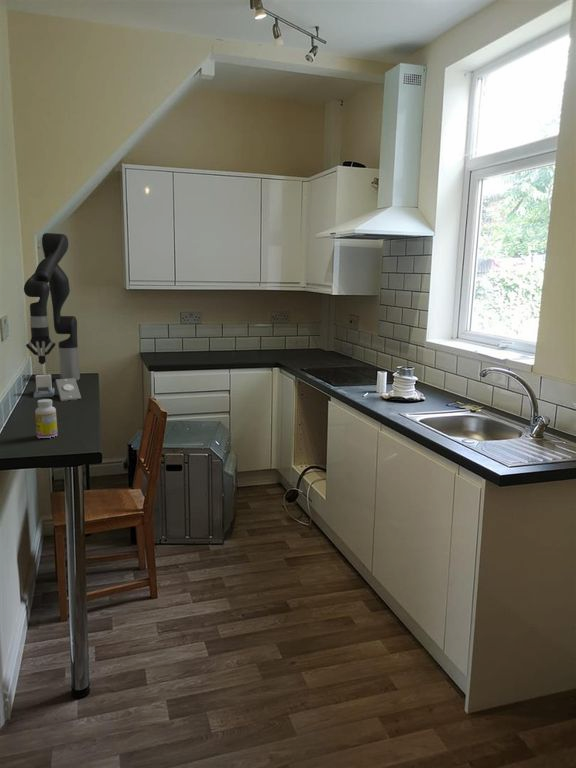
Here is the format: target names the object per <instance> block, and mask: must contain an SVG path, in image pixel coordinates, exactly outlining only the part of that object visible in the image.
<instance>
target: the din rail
mask: <svg viewBox="0 0 576 768" xmlns="http://www.w3.org/2000/svg"><path fill="white" fill-rule="evenodd" d="M38 391H39V394H48V391H49V387H38Z"/></svg>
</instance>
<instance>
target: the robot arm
mask: <svg viewBox="0 0 576 768" xmlns="http://www.w3.org/2000/svg"><path fill="white" fill-rule="evenodd" d="M41 246H42V251H43V252H42V253H43V256H44V258H43V259H42V260H41V261H39V263H38V264H37V266H36V268H35V271H34V273H33V274H32V275H31V276H30V277H29V278H28V279H27V280H26V281H25V283H24V286H23V291H24V292H23V293H24V294H25V295H26V297H29V298H39V299H38V301H36V302H35V301H34V302H31V303H30V304H29V313H30V314H29V315H30V317H29V318H30V320H29V321H30V322H29V325H30V337H31V338H30V341H29V342H28V343H27V344H26V345H25V346H26V348H27V349H28V350H29V351H30V352H31V353H32V354H33V356H37V357H38V363H39V364H40V365H44V364H45V363H46V360H47V359H46V356H47V355H50V353H51V352H52V351H53V349H54V348H55V346H56V344H57V343H56V342H53V341H52V339H51V338H50V330H49V329H50V328H49V318H48V301H49V297H50V298H51V304H52V315H53V318H52V319H53V327H54V331H55V334H57V335H69V337H67V338H66V339H64V340H61V341H59V342H58V355H59V356H58V358H59V373H60V379H68V378H75V379H76V382H78V381H79V379H81V374H80V373H81V372H80V371H81V370H80V361H79V349H78V348H79V346H78V344H79V343H78V320H77V318H76V316H75V315H74V316H73V315H61V314H62V313H61V310H62V307H63V305H64V304H65V302H66V300H67V299H68V297H69V294H70V292H71V291H70V290H71V289H70V282H69V277H68V275H67V274H66V273H65V271H64V269H62V268H61V266H60V265H59V263H60V261H62V259H63V257H64V256H65V254H66V253H67V251H68V248H69V240H68V237H67V235H65V234H64V233H56V232H55V233H53V232H52V233H51V232H50V233H49V232H46V233H45V232H44V233H43V234H42V236H41ZM48 346H49V348H48V349H47V351H46V348H47V347H48ZM33 347H34V348H35V349H36V350H37V351H36V350H35V349H34V348H33Z"/></svg>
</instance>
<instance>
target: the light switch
mask: <svg viewBox="0 0 576 768" xmlns="http://www.w3.org/2000/svg"><path fill="white" fill-rule="evenodd" d="M55 384H56V388H57V392H58V396H59V399H60V402H69V401H68V400H71V401H78V400H77V399H81V400H82V396H81V393H80V390H79V387H78V383H77V381H76V379H75V378H68V379H61V378H58V379H57V378H56V379H55Z"/></svg>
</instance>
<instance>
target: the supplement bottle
mask: <svg viewBox="0 0 576 768" xmlns="http://www.w3.org/2000/svg"><path fill="white" fill-rule="evenodd" d="M34 414H35V429H36V437H37V438H38V439H40V438H50V439H52V438H51V437H54V438H56V437H57V436H58V420H57V409H56V407H54V406H53V400H52V399H50V398H43V399H38V400H37V407H36V409H35V413H34ZM55 436H56V437H55Z"/></svg>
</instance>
